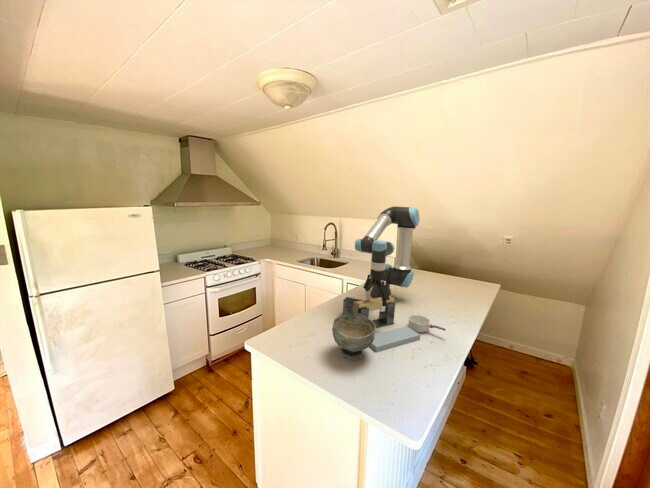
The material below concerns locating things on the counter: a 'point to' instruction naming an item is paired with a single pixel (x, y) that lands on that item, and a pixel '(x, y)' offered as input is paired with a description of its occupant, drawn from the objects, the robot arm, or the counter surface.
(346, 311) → the small box
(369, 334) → the bowl
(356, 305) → the rail
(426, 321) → the saucepan
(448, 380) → the counter surface
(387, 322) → the grey metal bracket
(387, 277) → the robot arm
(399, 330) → the board
